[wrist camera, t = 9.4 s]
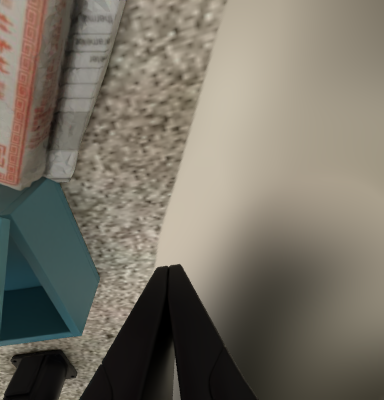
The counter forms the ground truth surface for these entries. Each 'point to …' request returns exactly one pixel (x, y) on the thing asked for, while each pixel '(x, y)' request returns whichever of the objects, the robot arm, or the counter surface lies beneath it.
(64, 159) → the packaged product
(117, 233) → the counter surface
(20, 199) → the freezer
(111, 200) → the counter surface
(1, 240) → the freezer lid
